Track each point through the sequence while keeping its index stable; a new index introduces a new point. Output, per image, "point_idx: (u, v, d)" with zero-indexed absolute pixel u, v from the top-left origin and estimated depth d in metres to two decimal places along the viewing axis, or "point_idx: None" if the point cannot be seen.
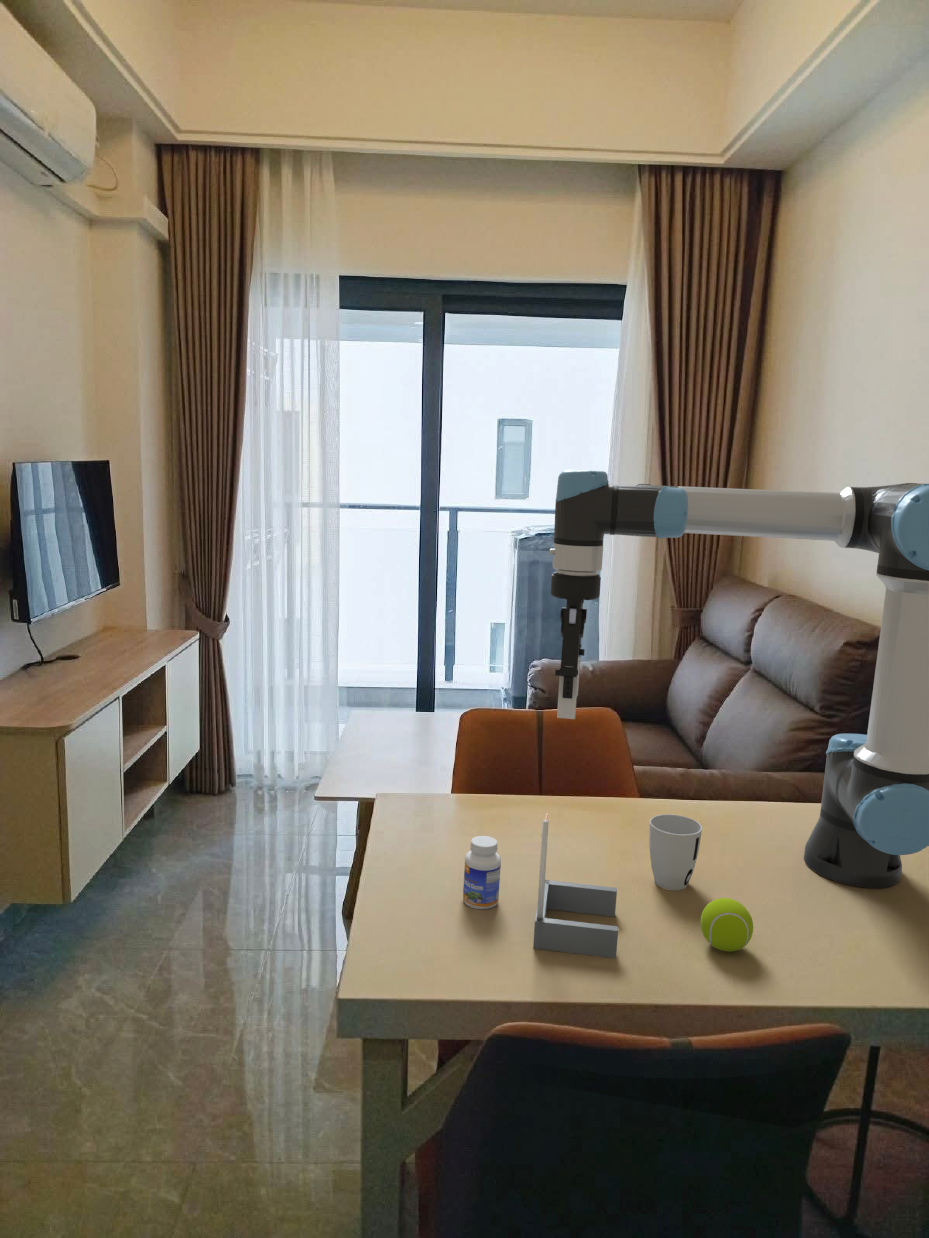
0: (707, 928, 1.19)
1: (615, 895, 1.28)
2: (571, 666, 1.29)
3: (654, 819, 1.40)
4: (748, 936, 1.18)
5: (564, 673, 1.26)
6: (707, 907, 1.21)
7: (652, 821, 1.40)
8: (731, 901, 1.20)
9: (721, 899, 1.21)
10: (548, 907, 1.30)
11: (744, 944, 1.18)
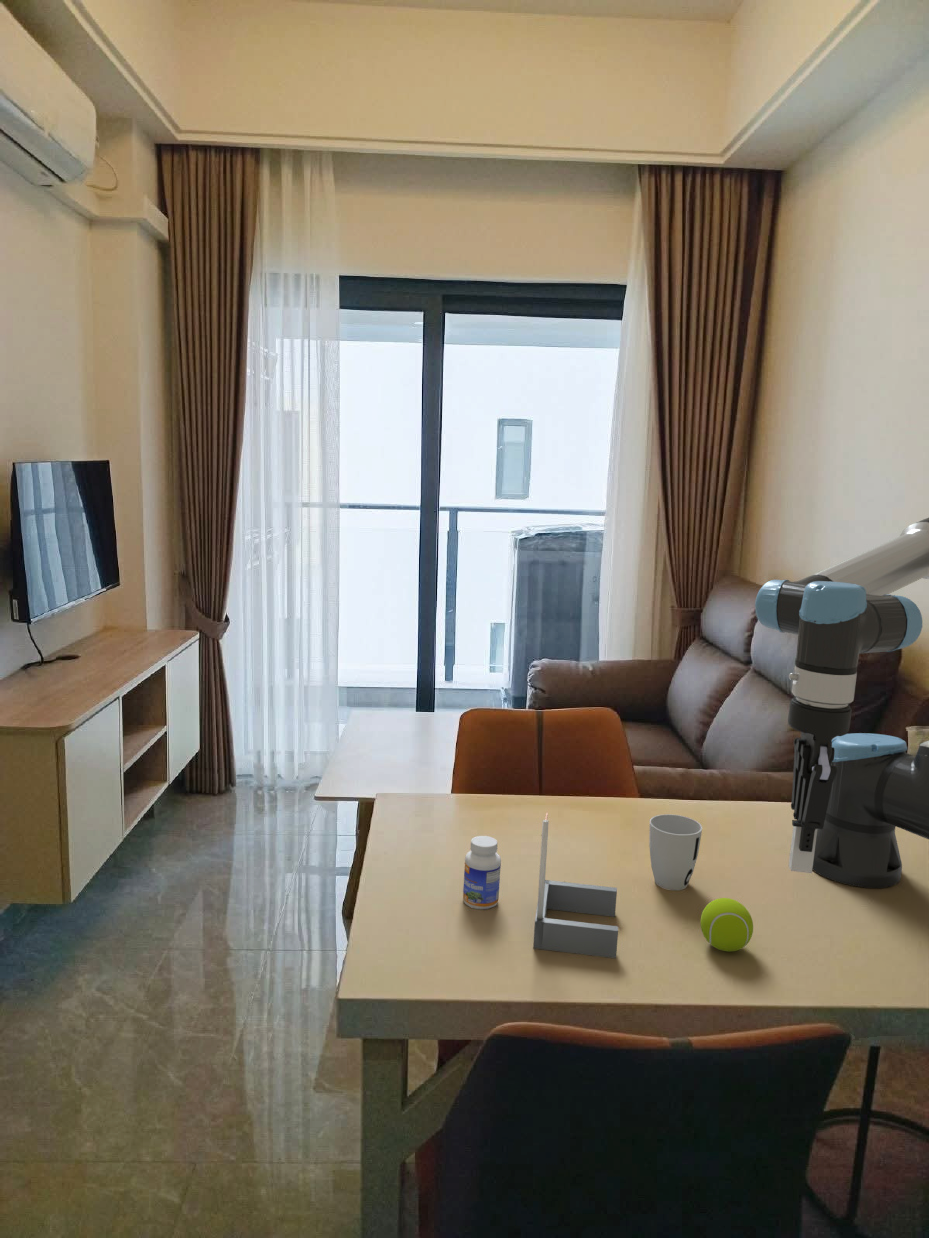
0: (707, 928, 1.19)
1: (615, 895, 1.28)
2: None
3: (654, 819, 1.40)
4: (748, 936, 1.18)
5: (808, 826, 1.13)
6: (707, 907, 1.21)
7: (652, 821, 1.40)
8: (731, 901, 1.20)
9: (721, 899, 1.21)
10: (548, 907, 1.30)
11: (744, 944, 1.18)
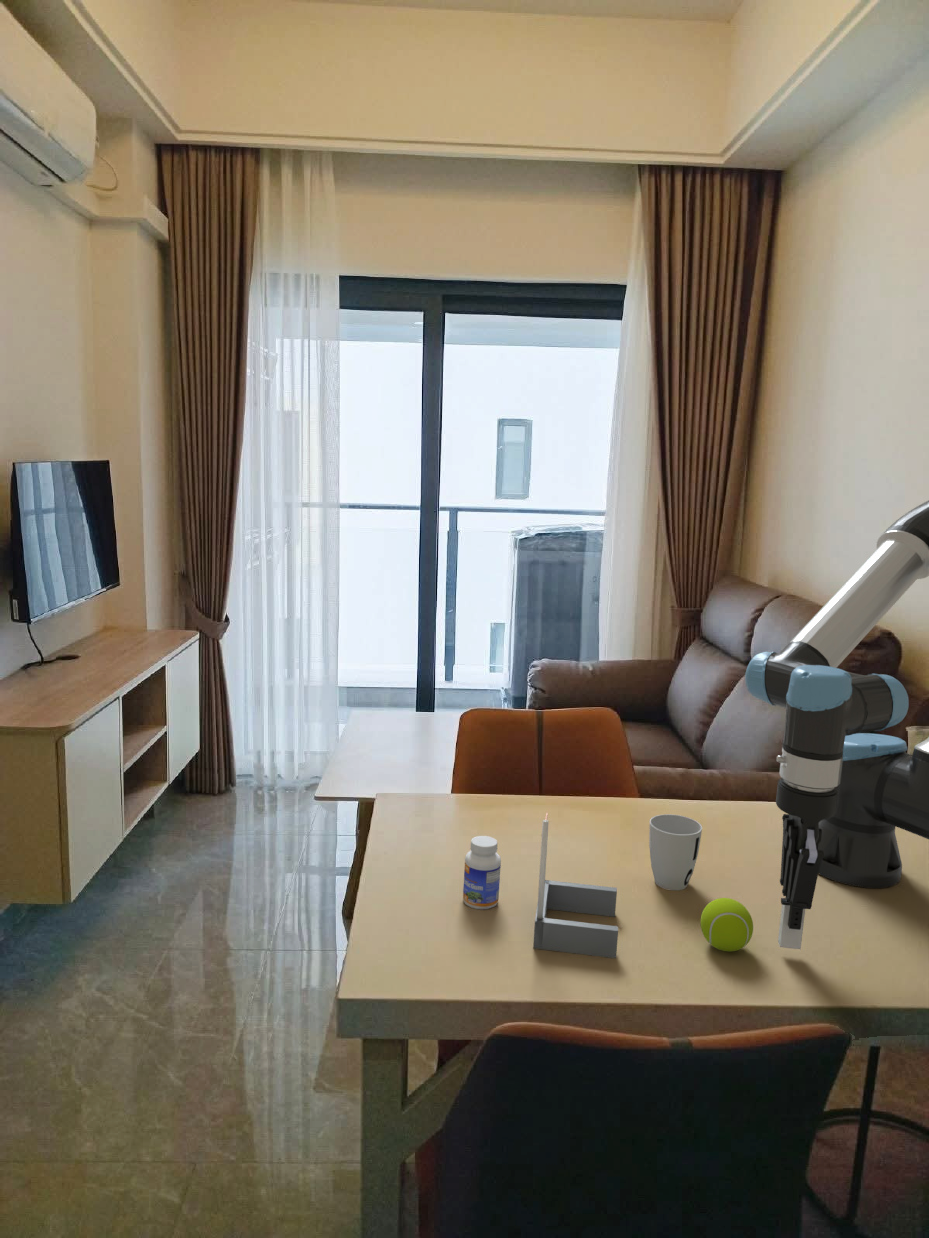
0: (707, 928, 1.19)
1: (615, 895, 1.28)
2: None
3: (654, 819, 1.40)
4: (748, 936, 1.18)
5: (796, 906, 1.15)
6: (707, 907, 1.21)
7: (652, 821, 1.40)
8: (731, 901, 1.20)
9: (721, 899, 1.21)
10: (548, 907, 1.30)
11: (744, 944, 1.18)
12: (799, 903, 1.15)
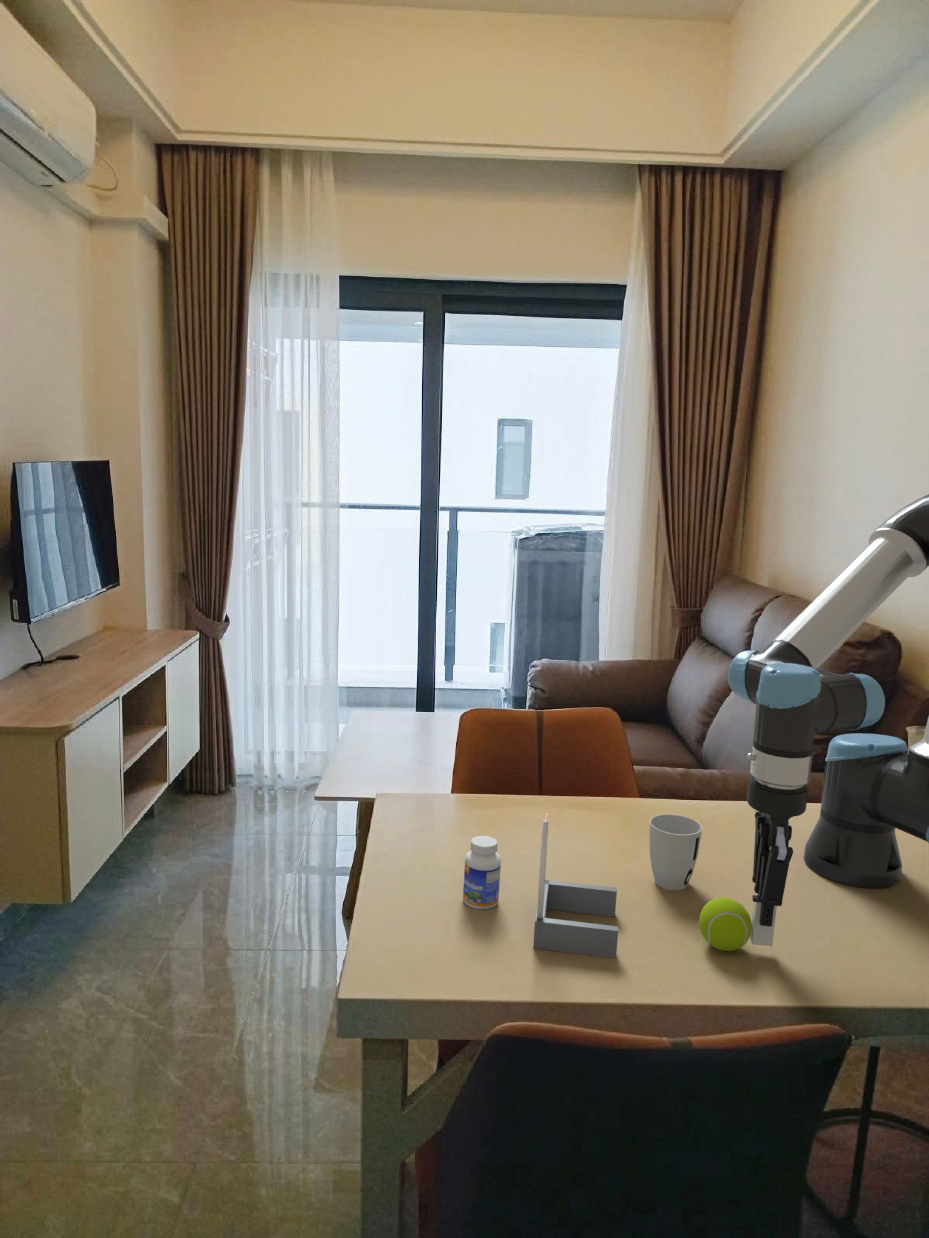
0: (706, 927, 1.19)
1: (615, 895, 1.28)
2: None
3: (654, 819, 1.40)
4: (746, 936, 1.18)
5: (767, 903, 1.15)
6: (706, 906, 1.21)
7: (652, 821, 1.40)
8: (729, 900, 1.20)
9: (720, 898, 1.21)
10: (548, 907, 1.30)
11: (742, 943, 1.18)
12: (770, 900, 1.15)
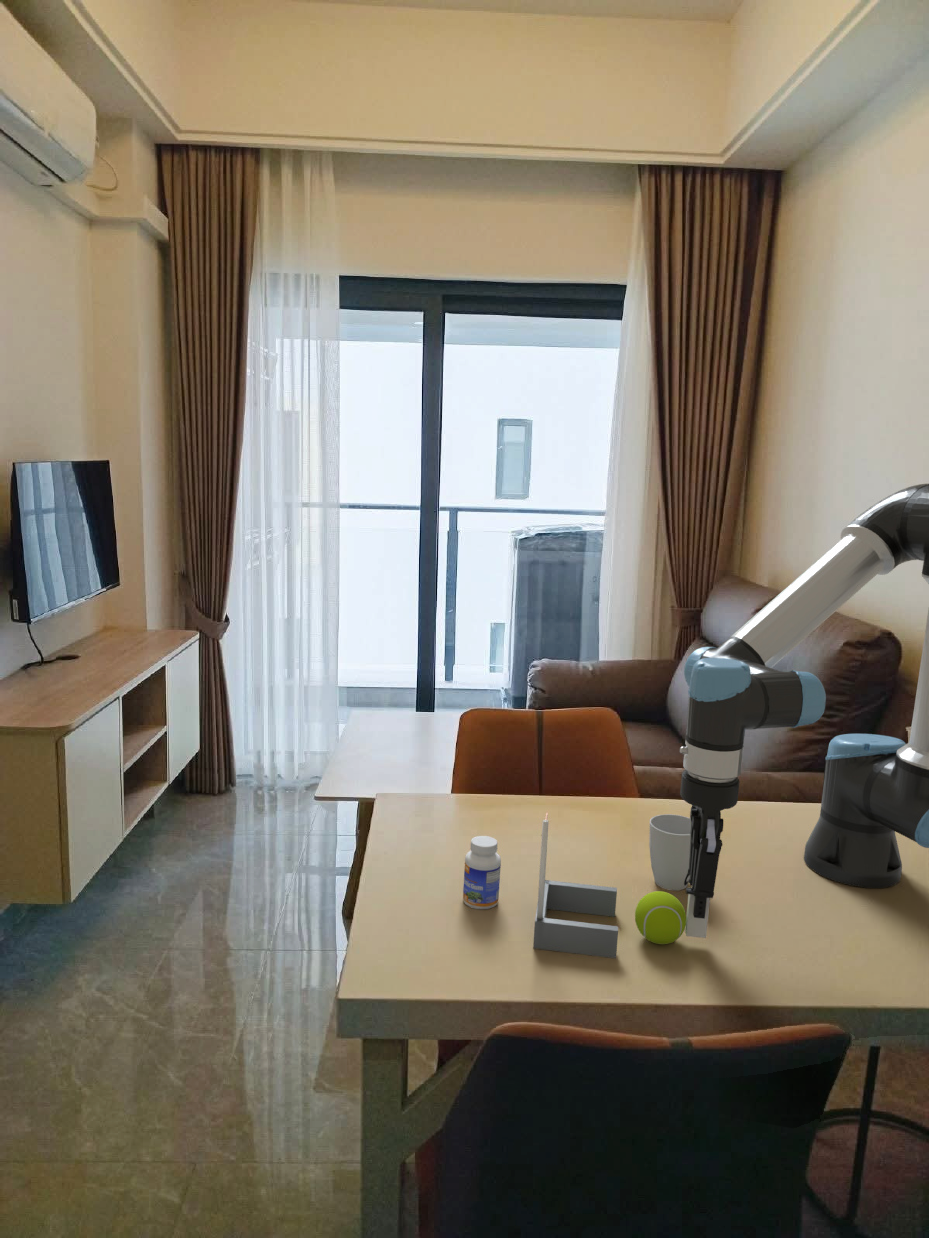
0: (641, 922, 1.20)
1: (615, 895, 1.28)
2: None
3: (654, 819, 1.40)
4: (681, 928, 1.19)
5: (699, 895, 1.17)
6: (641, 901, 1.22)
7: (652, 821, 1.40)
8: (664, 894, 1.21)
9: (655, 892, 1.22)
10: (548, 907, 1.30)
11: (677, 936, 1.19)
12: (701, 892, 1.16)
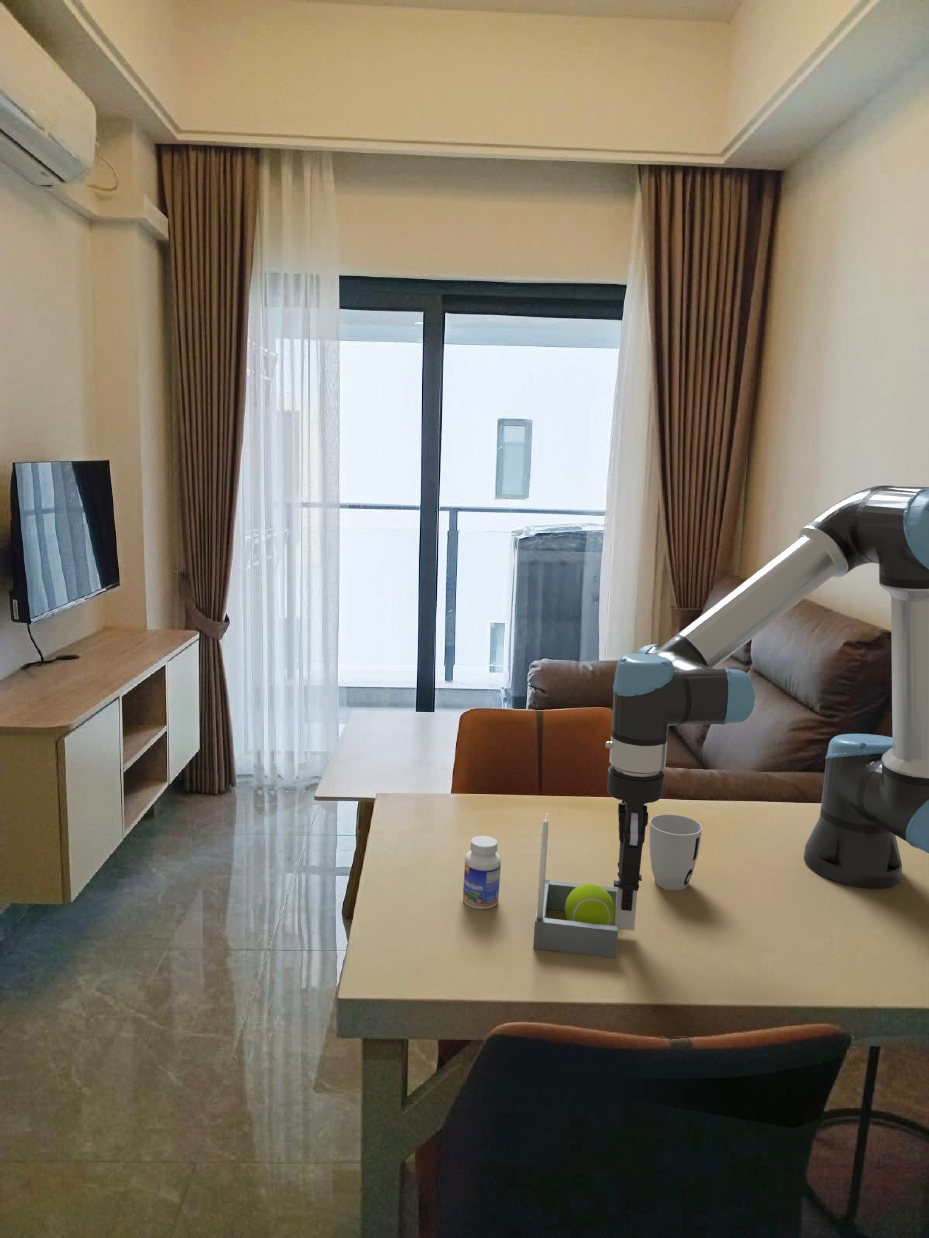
0: (571, 914, 1.21)
1: (615, 895, 1.28)
2: None
3: (654, 819, 1.40)
4: (610, 920, 1.21)
5: (624, 888, 1.18)
6: (571, 894, 1.23)
7: (652, 821, 1.40)
8: (593, 886, 1.22)
9: (584, 885, 1.23)
10: (548, 907, 1.30)
11: None
12: (627, 885, 1.18)
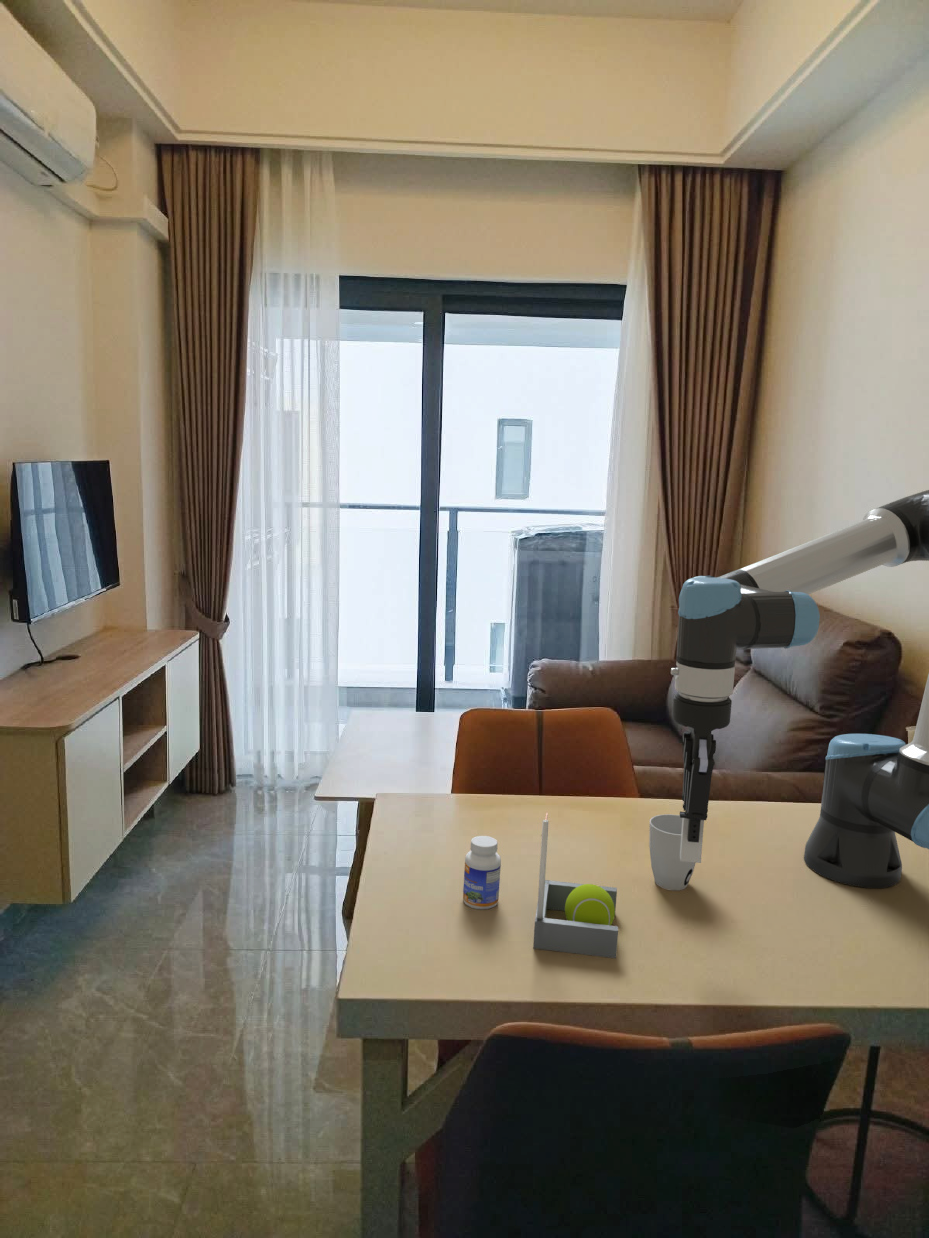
0: (571, 914, 1.21)
1: (615, 895, 1.28)
2: None
3: (654, 819, 1.40)
4: (610, 920, 1.21)
5: (692, 818, 1.15)
6: (571, 894, 1.23)
7: (652, 821, 1.40)
8: (593, 887, 1.22)
9: (584, 885, 1.23)
10: (548, 907, 1.30)
11: None
12: (695, 814, 1.15)
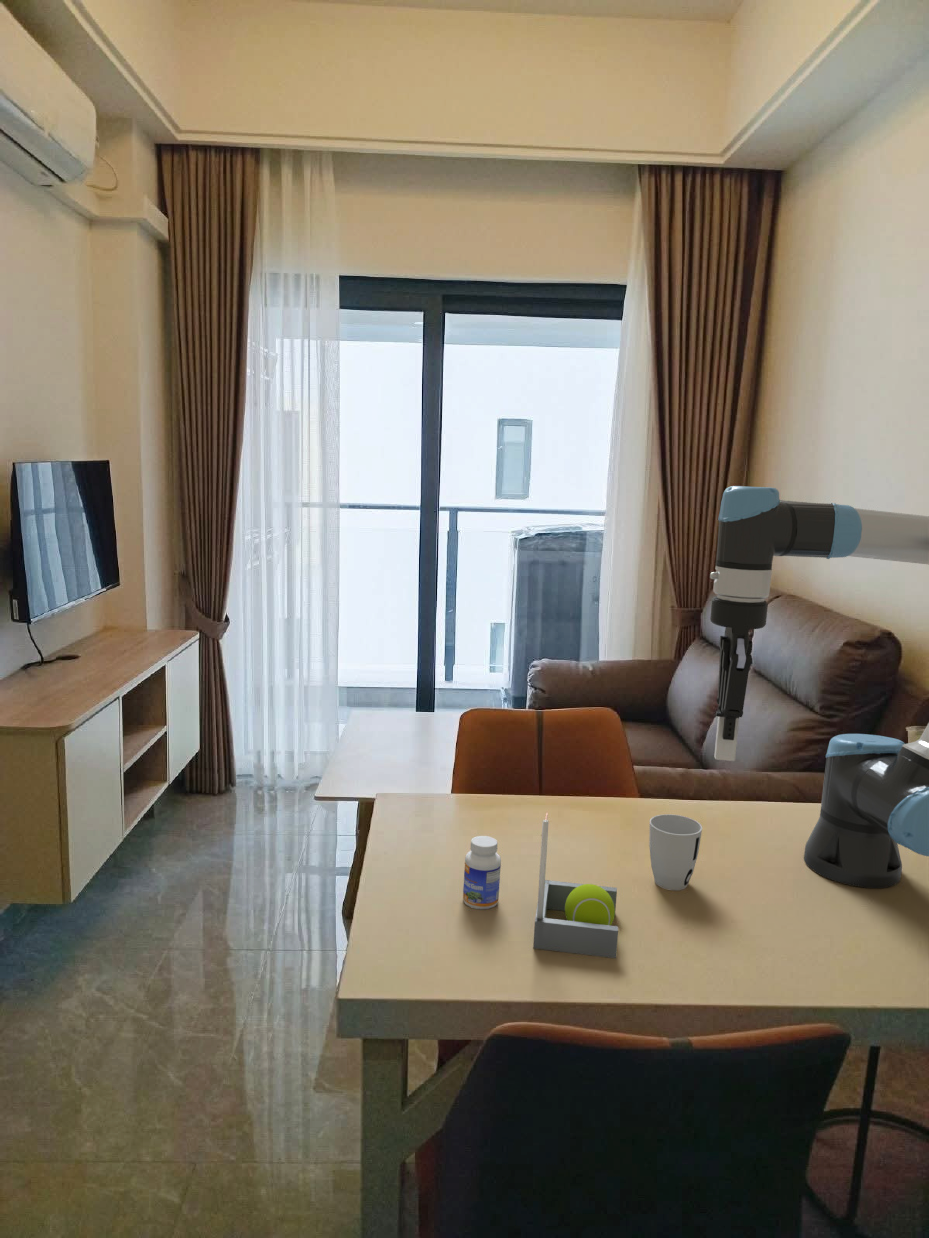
0: (571, 914, 1.21)
1: (615, 895, 1.28)
2: None
3: (654, 819, 1.40)
4: (609, 920, 1.21)
5: (728, 714, 1.21)
6: (571, 894, 1.23)
7: (652, 821, 1.40)
8: (593, 886, 1.22)
9: (584, 885, 1.23)
10: (548, 907, 1.30)
11: None
12: (731, 711, 1.21)
